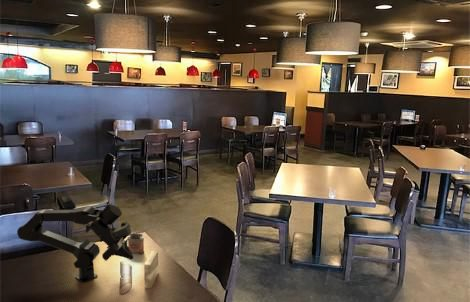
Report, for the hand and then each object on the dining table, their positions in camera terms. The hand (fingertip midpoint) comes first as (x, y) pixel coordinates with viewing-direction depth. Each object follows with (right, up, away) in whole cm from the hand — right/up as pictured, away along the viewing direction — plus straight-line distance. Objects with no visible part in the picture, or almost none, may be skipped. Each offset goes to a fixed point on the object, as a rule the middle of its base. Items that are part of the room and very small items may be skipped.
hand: (132, 258), depth 149 cm
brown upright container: (-5, -5, +25) cm, 26 cm away
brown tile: (+8, -9, +1) cm, 12 cm away
